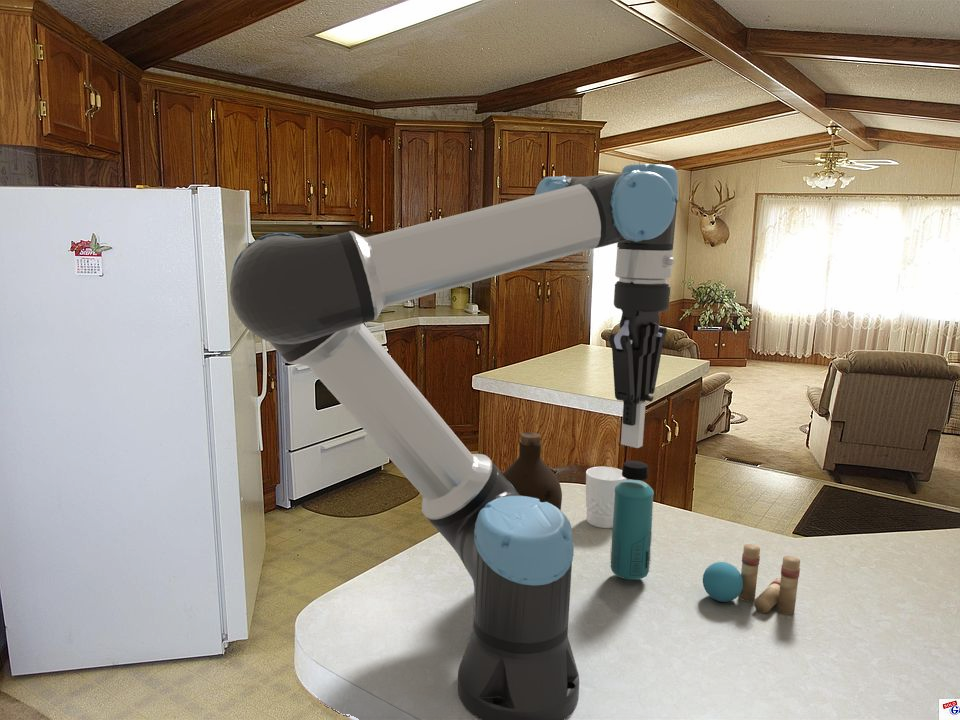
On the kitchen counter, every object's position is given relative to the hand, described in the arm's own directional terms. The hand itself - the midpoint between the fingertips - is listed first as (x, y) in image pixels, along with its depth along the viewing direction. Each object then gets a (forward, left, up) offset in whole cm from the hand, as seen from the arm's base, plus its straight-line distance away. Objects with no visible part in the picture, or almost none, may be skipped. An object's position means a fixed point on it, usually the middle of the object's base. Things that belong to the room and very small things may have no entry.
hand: (631, 444), depth 106 cm
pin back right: (+25, -7, -26) cm, 37 cm away
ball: (+17, -1, -23) cm, 29 cm away
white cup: (+15, +31, -27) cm, 44 cm away
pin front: (+21, -7, -25) cm, 33 cm away
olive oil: (-10, +13, -27) cm, 31 cm away
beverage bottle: (+7, +9, -27) cm, 29 cm away
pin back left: (+22, -2, -26) cm, 34 cm away
